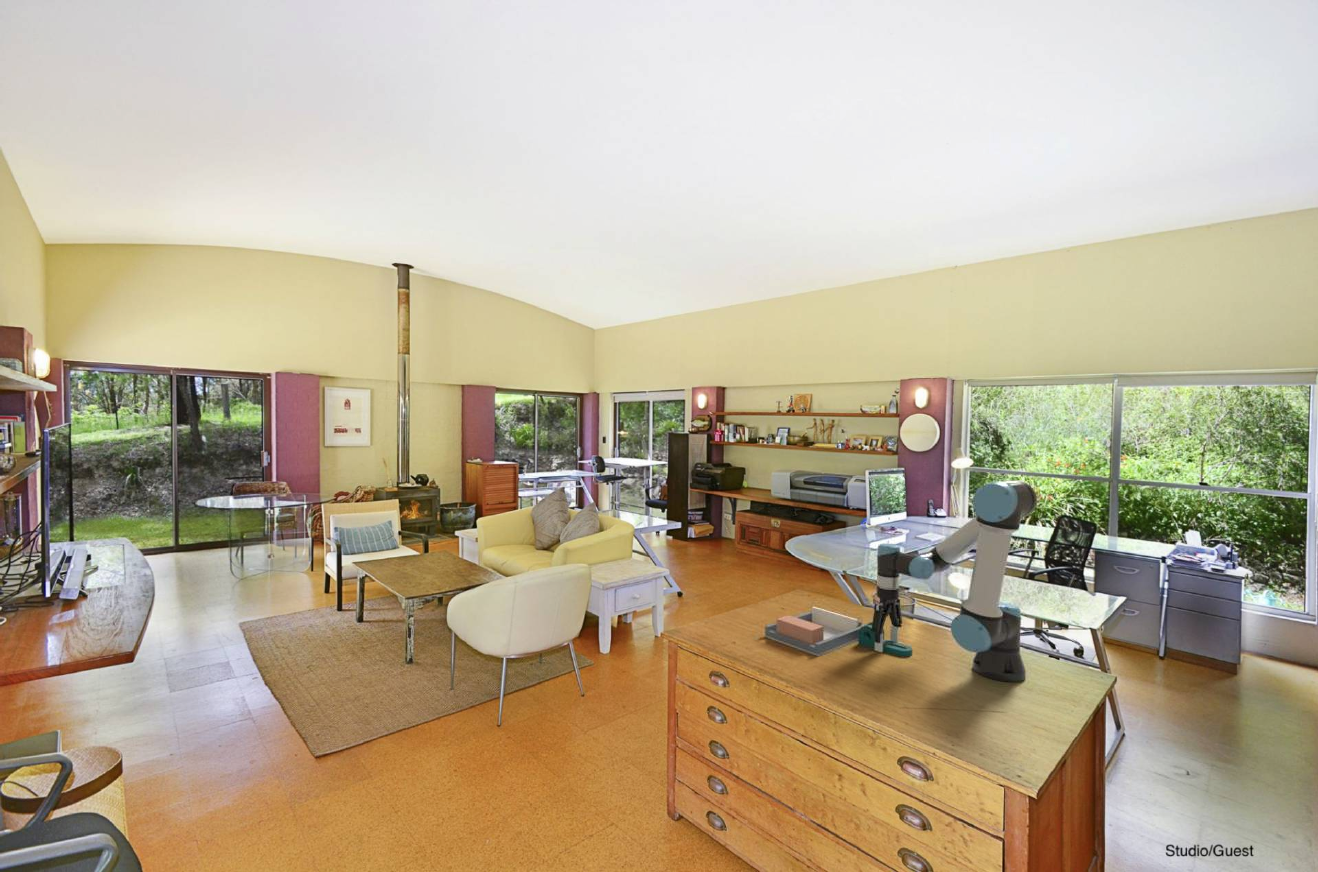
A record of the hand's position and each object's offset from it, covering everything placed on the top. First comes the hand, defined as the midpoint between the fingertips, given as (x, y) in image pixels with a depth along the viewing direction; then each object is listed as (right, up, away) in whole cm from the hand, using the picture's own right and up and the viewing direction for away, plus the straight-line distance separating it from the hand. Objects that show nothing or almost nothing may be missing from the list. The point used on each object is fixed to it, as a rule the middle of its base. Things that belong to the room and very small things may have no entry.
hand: (886, 647), depth 215 cm
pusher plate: (-14, +1, +19) cm, 23 cm away
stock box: (-31, 0, +5) cm, 31 cm away
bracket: (0, -1, 0) cm, 1 cm away
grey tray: (-23, 0, +11) cm, 25 cm away
